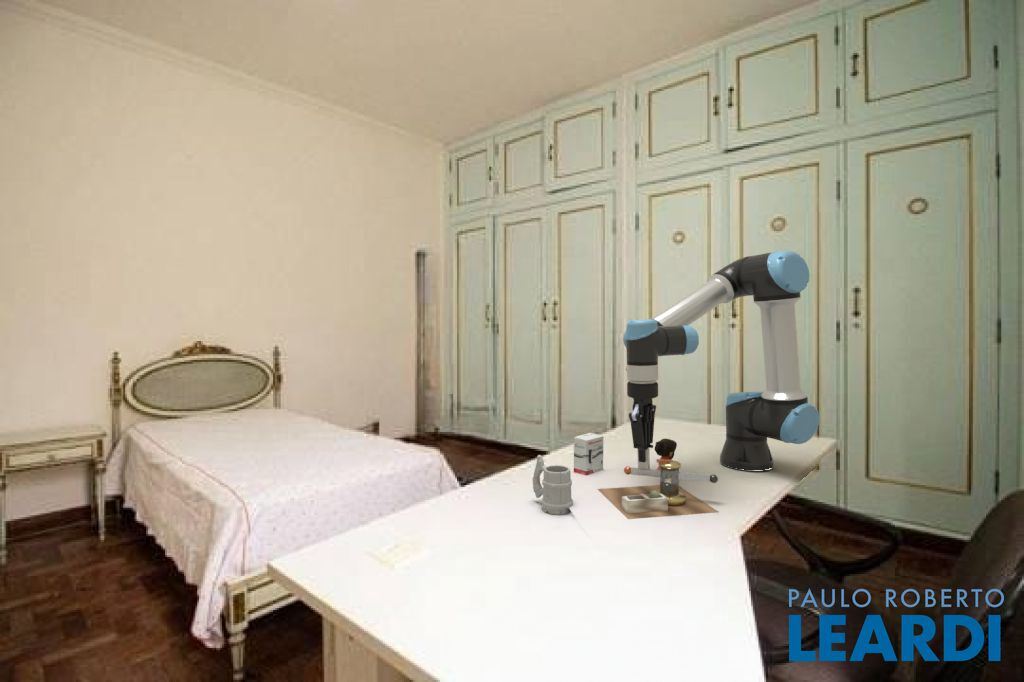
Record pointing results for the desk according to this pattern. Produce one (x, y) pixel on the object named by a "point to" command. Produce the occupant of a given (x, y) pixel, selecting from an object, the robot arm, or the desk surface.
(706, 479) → the capstan
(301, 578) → the desk surface
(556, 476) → the mug
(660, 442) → the figurine
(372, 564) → the desk surface
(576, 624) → the desk surface
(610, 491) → the stand
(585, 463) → the ink box
